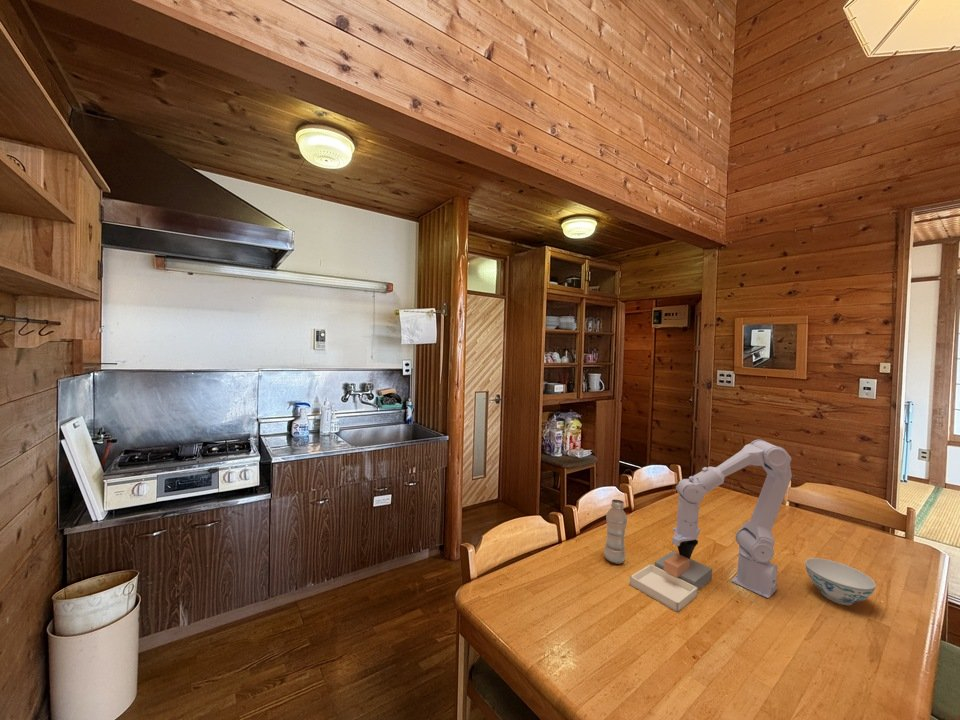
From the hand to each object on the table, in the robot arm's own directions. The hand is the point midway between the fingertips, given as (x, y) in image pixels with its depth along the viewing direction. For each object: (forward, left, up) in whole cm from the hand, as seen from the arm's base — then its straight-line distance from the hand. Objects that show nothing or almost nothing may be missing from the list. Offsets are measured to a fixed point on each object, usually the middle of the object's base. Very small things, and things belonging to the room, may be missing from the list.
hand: (684, 561), depth 118 cm
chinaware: (-31, -28, -5) cm, 42 cm away
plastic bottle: (+17, +12, -5) cm, 21 cm away
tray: (0, +13, -4) cm, 14 cm away
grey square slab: (0, +1, -4) cm, 5 cm away
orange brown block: (0, +3, -1) cm, 3 cm away
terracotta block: (0, +7, -1) cm, 7 cm away
